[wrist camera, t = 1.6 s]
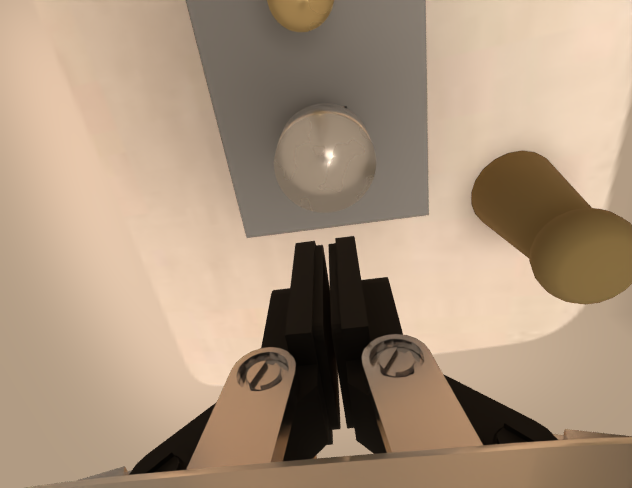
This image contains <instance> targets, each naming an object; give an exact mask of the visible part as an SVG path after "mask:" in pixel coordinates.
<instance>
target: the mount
mask: <svg viewBox="0 0 632 488" xmlns="http://www.w3.org/2000/svg"><path fill="white" fill-rule="evenodd" d="M186 3H187V7H188V11H189V15H190V19H191V23H192V27H193V30H194V34H195V38H196V42H197V46H198V50H199V54H200V58H201V62H202V65H203V69H204V73H205V77H206V81H207V85H208V89H209V93H210V97H211V101H212V104H213V108H214V112H215V116H216V120H217V124H218V128H219V132H220V136H221V140H222V143H223V147H224V151H225V155H226V159H227V163H228V167H229V171H230V175H231V178H232V182H233V186H234V190H235V194H236V198H237V202H238V206H239V210H240V214H241V217H242V221H243V225H244V229H245V233H246V237H247V238H251V237H258V236H266V235H274V234H282V233H290V232H298V231H306V230H314V229H322V228H330V227H338V226H345V225H353V224H361V223H369V222H377V221H385V220H393V219H401V218H409V217H417V216H425V215H429V200H428V134H427V68H426V2H425V0H334V4H333V7H332V10H331V12H330V14H329V16H328V17H327V19H326V20H325V21H324V22H323V23H322V24H321V25H320V26H319V27H317V28H316V29H314V30H311V31H308V32H294V31H291V30H288V29H287V28H285V27H283V26H282V25H281V24H280V23H278V22H277V20H276V19H275V18H274V16H273V15H272V13H271V11H270V9H269V6H268V3H267V0H186ZM320 103H331V104H336V105H339V106H342V107H343V106H344V107H345V108H346V109H348V110H350V111H351V112H353V113H354V114H355V115H356V116H357V117H358V118H359V119H360V120H361V121H362V123H363V124H364V126H365V128H366V130H367V132H368V135H369V137H370V139H371V142H372V144H373V147H374V151H375V155H376V171H375V175H374V179H373V181H372V184H371V185H370V187H369V189H368V190H367V192H366V193H365V194H364V196H363V197H362V198H361V199H360V200H358V201H357V202H356V203H354V204H353V205H351V206H350V207H347V208H345V209H343V210H340V211H336V212H328V213H321V212H314V211H310V210H307V209H304V208H302V207H300V206H298V205H297V204H295V203H294V202H292V201H291V200H290V199H289V198H288V197H287V196H286V195H285V194H284V192H283V191H282V189H281V188H280V186H279V184H278V182H277V179H276V175H275V170H274V157H275V152H276V148H277V145H278V142H279V139H280V136H281V133H282V130H283V128H284V127H285V125H286V123H287V122H288V121H289V119H290V118H291V117H292V116H293V115H294V114H296V113H297V112H298V111H300V110H301V109H303V108H305V107H308V106H310V105H314V104H320Z"/></svg>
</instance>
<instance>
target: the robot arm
mask: <svg viewBox="0 0 632 488" xmlns="http://www.w3.org/2000/svg"><path fill="white" fill-rule="evenodd" d="M335 240H336V243H334V244H329V274H330V287H329V280H328V274H327V268H326V261H325V255H324V248H323V245H318V246H316V243H315V241H310V242H302V243H296V245H295V253H294V261H293V270H292V278H291V287H290V288H289V289H280V290H273V291H272V294H271V298H270V304H269V309H268V315H267V320H266V325H265V331H264V336H263V342H262V347H261V348H260V349H257V350H254V351H251V352H250V353H248V354H246V355H244V356H243V357H242V358H241V359H240V360H238V361H237V362H236V363H235V365H234V366H233V368H232V370H231V372H230V374H229V376H228V378H227V380H226V383H225V385H224V387H223V389H222V391H221V394H220V396H219V398H218V400H217V402H216V403H215V404H214V405H212V406H211V407H210V408H208V409H207V410H206V411H204V412H203V413H202V414H200V415H199V416H198V417H196V418H195V419H194V420H192V421H191V422H190V423H188V424H187V425H186V426H184V427H183V428H182V429H180V430H179V431H178V432H176V433H175V434H174V435H173V436H171V437H170V438H168V439H167V440H166V441H164V442H163V443H162V444H160V445H159V446H158V447H156V448H155V449H154V450H152V451H151V452H150V453H148V454H147V455H146V456H145V457H144V458H143V459H142V460H140V461H139V462H138V463H137V464H136V466H135V467H134V468H133V470H131V471H127V470H126V468H125V466H124V467H121V468H117V469H114V470H110V471H107V472H104V473H101V474H97V475H94V476H90V477H87V478H83V479H80V480H77V481H69V482H61V483H54V484H47V485H41V486H33V487H26V488H632V436H625V435H615V434H605V433H597V432H587V431H579V430H569V429H565V430H564V435H558V434H552V433H551V432H550V431H549V430H548V429H547V428H545V427H544V426H542V425H541V424H539V423H537V422H536V421H534V420H532V419H530V418H528V417H526V416H524V415H522V414H521V413H519V412H517V411H515V410H513V409H511V408H509V407H507V406H505V405H503V404H501V403H499V402H497V401H495V400H493V399H491V398H489V397H487V396H485V395H483V394H481V393H479V392H477V391H475V390H473V389H471V388H469V387H467V386H465V385H463V384H461V383H460V382H458V381H456V380H454V379H452V378H449V377H447V376H445V375H444V374H443V373H442V372H441V370H440V368H439V366H438V364H437V363H436V361H435V359H434V357H433V355H432V354H431V352H430V350H429V349H428V348H427V346H426V345H425V344H424V343H423V342H421V341H419V340H418V339H416V338H414V337H411V336H408V335H403V333H402V329H401V325H400V321H399V317H398V314H397V310H396V306H395V302H394V298H393V295H392V291H391V287H390V283H389V280H388V277H384V278H375V279H367V280H361V276H360V269H359V263H358V257H357V250H356V244H355V237H354V236H350V237H342V238H335ZM338 375H339V381H340V387H341V392H342V399H343V405H344V411H345V418H346V424H347V428H355V434H356V440H357V441H358V442H359V443H361V444H362V445H364V446H365V447H366V448H367V449H369V450H370V451H371V452H373V453H374V454H367V455H355V456H343V457H331V458H318V459H317V456H316V455H317V454H318V453H319V452H320V451H321V450H322V449H323V448H324V447H325V446H326V445H331V444H333V434H332V430H334V429H340V407H339V387H338Z"/></svg>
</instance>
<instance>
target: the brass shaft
mask: <svg viewBox="0 0 632 488" xmlns="http://www.w3.org/2000/svg"><path fill="white" fill-rule="evenodd" d="M267 3H268V6H269V9H270V11H271V13H272V15H273V16H274V18H275V19H276V20H277V22H278V23H280V24H281V25H282V26H283V27H285V28H287V29H288V30H291V31H294V32H308V31H311V30H314V29H316V28H317V27H319V26H320V25H321V24H322V23H323V22H324V21H325V20H326V19H327V17H328V16H329V14H330V12H331V10H332V7H333V4H334V0H267Z"/></svg>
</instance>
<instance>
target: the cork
mask: <svg viewBox="0 0 632 488" xmlns="http://www.w3.org/2000/svg"><path fill="white" fill-rule="evenodd" d="M472 206H473V209H474V212H475V214H476V215H477V216H478V217H479V219H480V220H481V221H482V222H483V223H485V224H486V225H487V226H488V227H490V228H491V229H492V230H494V231H495V232H496V233H497V234H499V235H500V236H501V237H502V238H504V239H505V240H506V241H508V242H509V243H510V244H511V245H513V246H514V247H515V248H516V249H518V250H519V251H520V252H522V253H523V254H524V255H525V256H527V257H528V258H529V261H530V264H531V267H532V270H533V273H534V276H535V278H536V280H537V281H538V282H539V283H540V285H541V286H542V287H543V288H544V289H545V290H546V291H547V292H548V293H550V294H551V295H553V296H555V297H557V298H559V299H561V300H563V301H565V302H571V303H578V304H593V303H600V302H602V301H605V300H608V299H610V298H613V297H615V296H616V295H618V294H620V293H621V292H623V291H624V290H626V289H627V288H628V287H629V286H630V285H631V284H632V225H631V223H630V222H628V221H626V220H625V219H623V218H622V217H620V216H618V215H616V214H614V213H612V212H610V211H606V210H602V209H595V208H591V206H590V205H589V204H588V203H587V202H586V201H585V200H584V199H583V198H582V197H581V196H580V194H579V193H578V192H577V191H576V190H575V189H574V188H573V187H572V186H571V185H570V184H569V183H568V181H567V180H566V179H565V178H564V177H563V176H562V175H561V174H560V173H559V172H558V171H557V169H556V168H555V167H554V166H553V165H552V164H551V163H550V162H549V161H548V160H547V159H546V158H545V157H543V156H541V155H539V154H537V153H535V152H528V151H518V152H512V153H508V154H505V155H503V156H501V157H499V158H497V159H495V160H494V161H492V162H491V163H490V164H489V165H488V166H486V167H485V168H484V169H483V171H482V172H481V173H480V175H479V176H478V178H477V179H476V181H475V184H474V187H473V190H472Z"/></svg>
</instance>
